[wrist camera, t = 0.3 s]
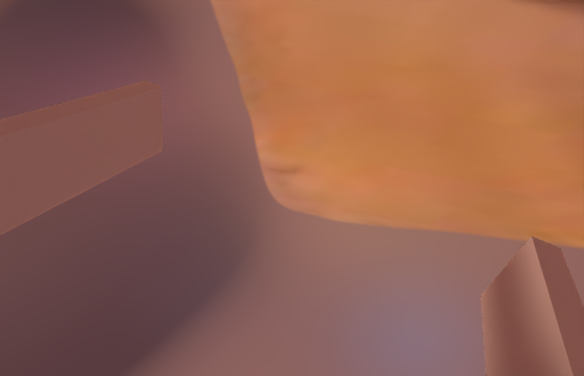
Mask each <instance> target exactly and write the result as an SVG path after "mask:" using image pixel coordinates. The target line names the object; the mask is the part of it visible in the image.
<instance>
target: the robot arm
mask: <svg viewBox="0 0 584 376" xmlns="http://www.w3.org/2000/svg"><path fill="white" fill-rule="evenodd" d="M162 146H163V142H162V87H161V86H158V85H156V84H153V83H151V82H148V81H142V82H138V83H134V84H131V85H127V86H123V87H120V88H116V89H113V90H109V91H105V92H101V93H97V94H94V95H90V96H86V97H83V98H79V99H75V100H72V101H68V102H64V103H60V104H57V105H53V106H50V107H46V108H42V109H38V110H35V111H31V112H27V113H23V114H20V115H16V116H13V117H9V118H5V119H1V120H0V235H2V234H4V233H6V232H8V231H9V230H11V229H13V228H15V227H17V226H19V225H21V224H23V223H25V222H27V221H29V220H31V219H32V218H34V217H36V216H38V215H40V214H42V213H44V212H46V211H48V210H50V209H52V208H53V207H55V206H57V205H59V204H61V203H63V202H65V201H67V200H69V199H71V198H73V197H75V196H77V195H78V194H80V193H82V192H84V191H86V190H88V189H90V188H92V187H94V186H96V185H98V184H100V183H101V182H103V181H105V180H107V179H109V178H111V177H113V176H115V175H117V174H118V173H120V172H123V171H125V170H126V169H128V168H130V167H132V166H134V165H136V164H138V163H140V162H142V161H143V160H146V159H148V158H149V157H151V156H153V155H155V154H157V153H159V152H161V151H163V147H162ZM481 307H482V322H483V336H484V350H485V365H486V376H584V306H583V304H582V301H581V299H580V296H579V294H578V291H577V289H576V286H575V284H574V281H573V279H572V276H571V273H570V271H569V269H568V266H567V263H566V261H565V258H564V256H563V253H562V251H561V248H559V247H557V246H554V245H552V244H549V243H547V242H544V241H542V240H539V239H537V238H534V237H531V238H530V239H529V240H528V241H527V243H526V244H525V245H524V246H523V247H522V249H520V251H519V252H518V253H517V254H516V255H515V256H514V258H513V259H512V260H511V261H510V262H509V263H508V265H507V266H506V267H505V268H504V269H503V270H502V272H501V273H500V274H499V275H498V276H497V277H496V278H495V280H494V281H493V282H492V283H491V284H490V285H489V287H488V288H487V289H486V290H485V291H484V293H483V294H482V295H481Z"/></svg>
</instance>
